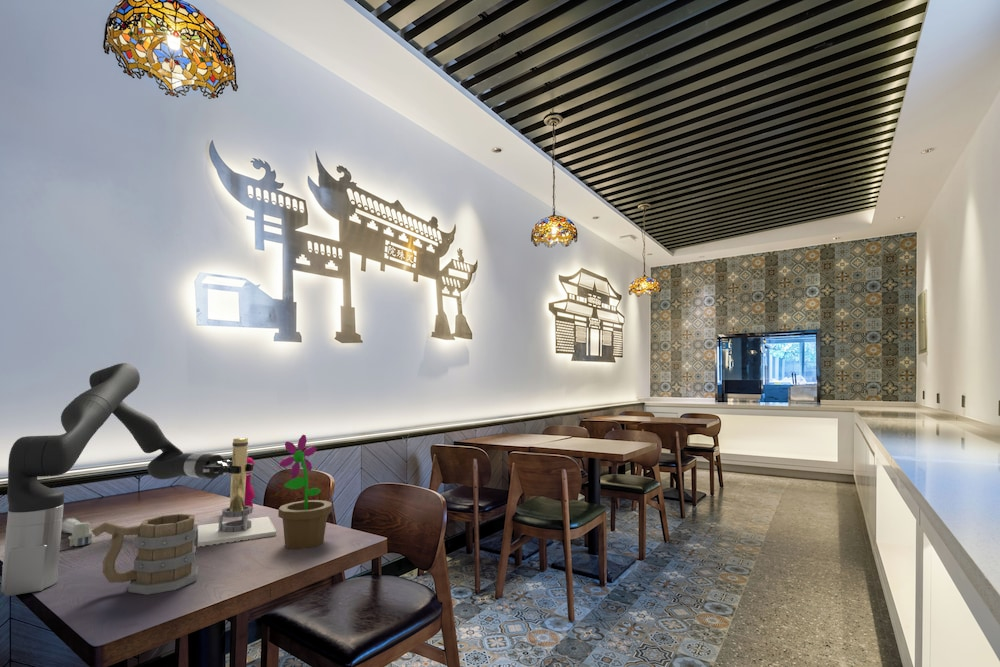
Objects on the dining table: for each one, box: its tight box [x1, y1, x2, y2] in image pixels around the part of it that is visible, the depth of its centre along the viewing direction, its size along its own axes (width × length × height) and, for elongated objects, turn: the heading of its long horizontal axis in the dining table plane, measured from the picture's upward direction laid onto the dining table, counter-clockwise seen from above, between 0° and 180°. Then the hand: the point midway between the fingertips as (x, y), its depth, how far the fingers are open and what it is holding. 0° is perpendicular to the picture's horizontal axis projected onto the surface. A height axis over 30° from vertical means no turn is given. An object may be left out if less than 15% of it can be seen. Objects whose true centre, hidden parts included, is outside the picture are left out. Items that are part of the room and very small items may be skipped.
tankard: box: [91, 513, 199, 596], centre depth 111 cm, size 20×13×15 cm, turn 118°
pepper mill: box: [244, 453, 256, 509], centre depth 181 cm, size 7×7×20 cm
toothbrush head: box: [61, 516, 94, 547], centre depth 146 cm, size 5×7×25 cm
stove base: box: [197, 506, 277, 548], centre depth 151 cm, size 20×20×7 cm
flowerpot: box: [277, 434, 333, 550], centre depth 142 cm, size 14×14×30 cm
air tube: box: [229, 437, 249, 511], centre depth 152 cm, size 4×4×22 cm
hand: (246, 468), depth 152 cm, fingers closed on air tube, 4 cm apart
